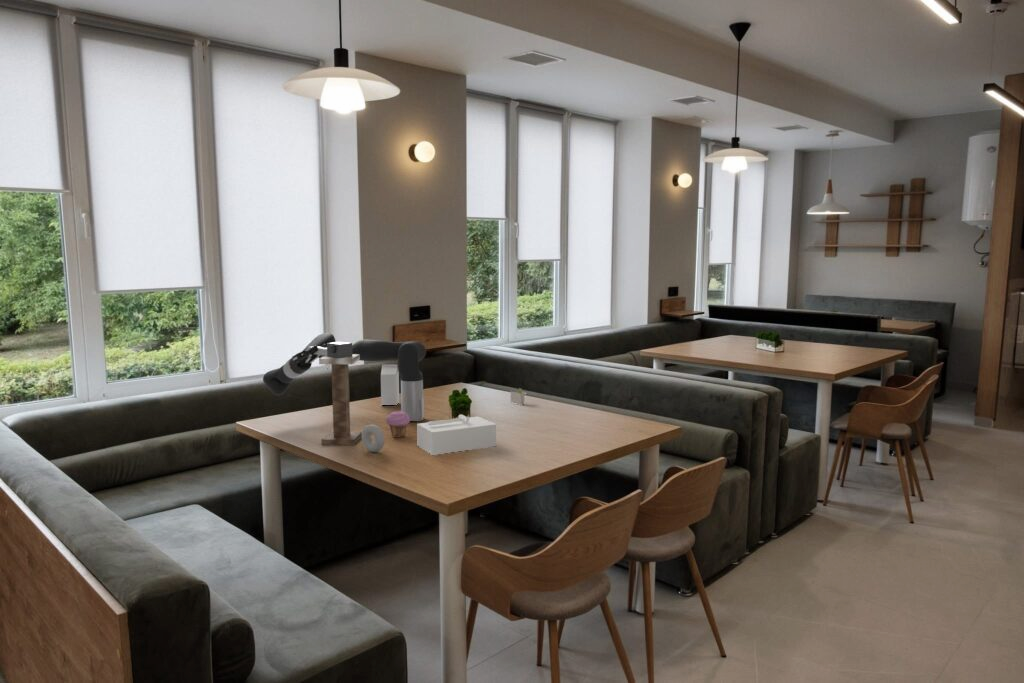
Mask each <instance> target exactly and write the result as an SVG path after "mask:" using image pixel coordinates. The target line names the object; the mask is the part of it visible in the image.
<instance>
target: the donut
mask: <svg viewBox="0 0 1024 683" xmlns="http://www.w3.org/2000/svg"><path fill="white" fill-rule="evenodd" d="M361 432H362V437H361V442H362V444H363V446H364V447H365V449H366V450H368V452H372V453H377V452H380V451H381V450H382V449H383V448H384V446H385V441H386V438H385V434H384V432H383V430H382V429H381V427H380V426H378V425H376V424H367V425H366V426H365V427H363V429H362V431H361ZM372 435H373V436H374V441H373V439H372Z"/></svg>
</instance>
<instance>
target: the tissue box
mask: <svg viewBox="0 0 1024 683" xmlns="http://www.w3.org/2000/svg"><path fill="white" fill-rule="evenodd" d="M457 417H458V418H454V419H452V418H451V419H443V420H441V419H439V420H430V421H427V422H422V423H420V422H419V423H416V440H417V441H416V442H417V444H416V445H417V446H416V447H418V446H419V447H418V448H420V449H421V448H422V449H421V450H423V451H424V450H425V451H424V452H426V451H427V452H428V454H429V453H430V454H429V455H431V456H432V455H434V456H439V455H438V454H441V455H445V454H444V453H448V454H452V453H451V452H455V453H459V452H458V451H462V452H466V451H465V450H469V451H473V450H472V449H476V450H481V449H480V448H483V449H487V448H486V447H490V448H494V447H493V446H496V447H497V424H496V423H494V422H492V421H490V420H487V419H485V418H483V417H481V416H470V417H468V416H466V415H464V414H462V413H461V414H459V415H458V416H457ZM427 452H426V453H427Z"/></svg>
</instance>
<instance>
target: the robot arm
mask: <svg viewBox="0 0 1024 683" xmlns="http://www.w3.org/2000/svg"><path fill="white" fill-rule="evenodd" d="M332 342H337V341H336V338H335V336H334V334H332V333H329V332H324V333H321V334H319V335H317V336H315V337H314V338H313V339H312V340H311V342H310V343H308V344H307V345H306V346H305V348H303V350H302V351H300V352H298V353H295V355H292V357H291V358H289V359H288V360H287V361H286V362H285V363H284V364H283V365H282V366H281V367H279V368H275V369H272V370H269V371H268V372H267V371H266V372H265V374H264V375H263V377H262V381H263V383H264V385H265V386H266V387H267V388H268V390H270V392H271V393H272V394H273V395H274V396H281V395H283V394H284V393H285V392H286V391H287V390H288V389H289V387H290V386H291V384H292V383H293V382H294V381H295V380H296V379H297V378H298V377H300V376H302V375H303V374H304V373H306V372H307V371H308V370H310V368H311V367H312V364H313V362H315V361H316V360H317V359H318V360H319V359H320V358H322V357H324V355H317V354H314V353H315V352H317V351H318V347H317V346H320V347H327V343H332ZM311 346H313V347H312V348H311V349H308V347H311ZM352 354H360V360H359V361H361V362H362V361H363V362H364V361H365V362H381V361H382V362H383V361H391V360H397V367H398V371H399V377H400V408H401V409H400V411H403V412H405V413H406V414H408V415H409V418H410V421H417V422H423V421H422V420H424V419H425V396H424V379H423V378H424V377H423V376H424V374H423V372H422V371H421V370H420V369H419V362H421V361H423V359H425V356H426V355H427V349H426V347H425V345H424V344H423V343H422V342H420V341H418V340H412V341H411V340H410V341H399V342H397V341H388V340H379V339H359V340H357V341H356V342H354V343H352ZM423 418H424V419H423Z"/></svg>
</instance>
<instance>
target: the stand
mask: <svg viewBox="0 0 1024 683" xmlns="http://www.w3.org/2000/svg"><path fill="white" fill-rule="evenodd" d="M358 361H361V360H360V354H353V356H352V357H345V358H334V357H327V356H324V357H322V358H320V359H319V358H318V365H331V392H332V395H331V396H332V398H331V399H332V425H333V426H332V428H333V431H329V432H328V433H327V434H326V435H325V436H324V437H322V439H321V445H322V444H333V445H332V446H355V445H356V444H357V443H358V442H359V440H360V439H362V432H363V431H351V417H350V416H351V413H350V407H351V406H350V384H349V383H350V376H349V374H350V373H349V369H350V368H349V365H354V364H356V363H357V362H358ZM356 442H357V443H356ZM355 443H356V444H355ZM354 444H355V445H354Z"/></svg>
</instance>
